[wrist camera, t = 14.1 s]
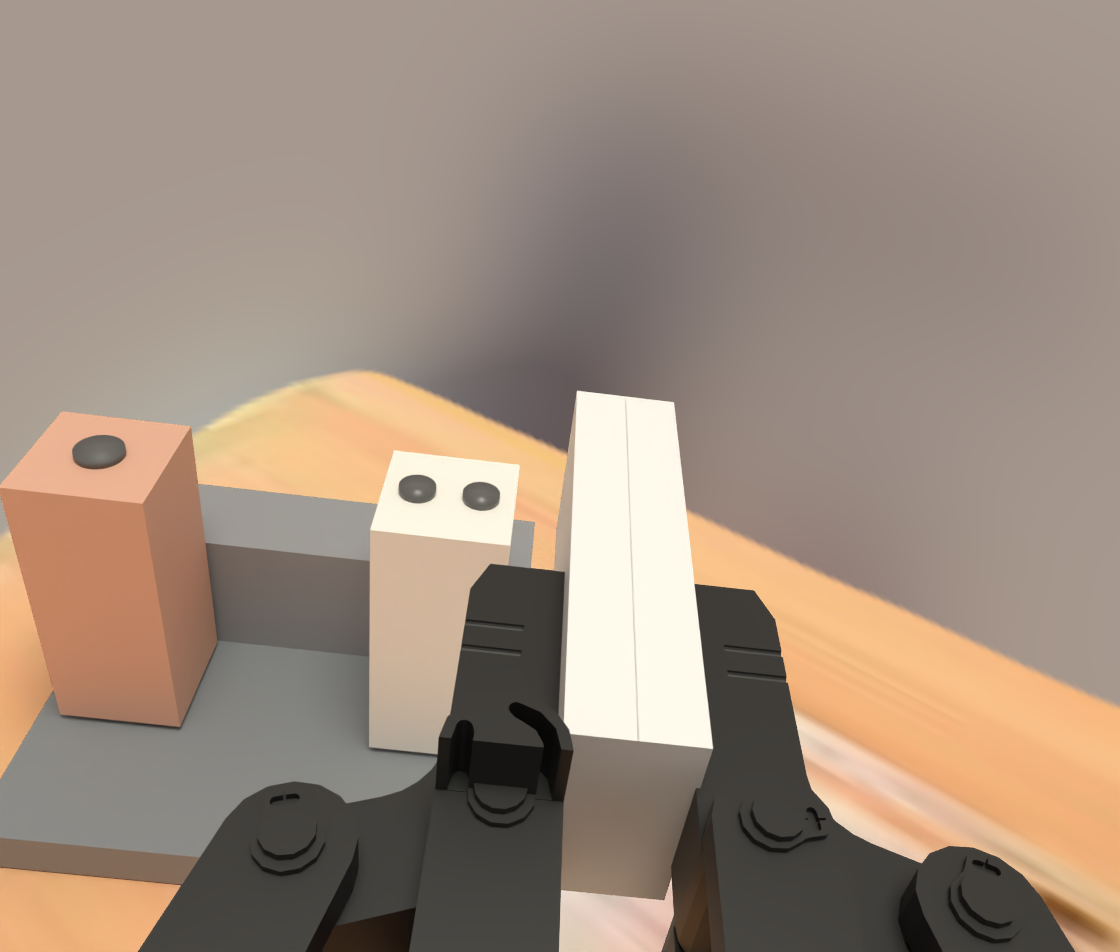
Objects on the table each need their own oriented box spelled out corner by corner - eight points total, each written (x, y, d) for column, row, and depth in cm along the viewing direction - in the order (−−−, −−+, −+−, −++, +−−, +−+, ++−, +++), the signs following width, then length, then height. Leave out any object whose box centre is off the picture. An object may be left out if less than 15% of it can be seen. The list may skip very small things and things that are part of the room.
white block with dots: (485, 759, 42) (510, 539, 35) (369, 747, 42) (370, 523, 35) (496, 672, 46) (520, 458, 39) (389, 660, 46) (394, 444, 39)
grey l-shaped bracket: (493, 914, 39) (510, 790, 34) (-21, 865, 38) (-75, 730, 33) (519, 641, 51) (534, 521, 46) (130, 599, 50) (106, 473, 46)
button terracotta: (180, 726, 42) (141, 496, 34) (60, 714, 41) (-4, 480, 34) (217, 641, 46) (190, 420, 38) (108, 630, 45) (60, 405, 38)
